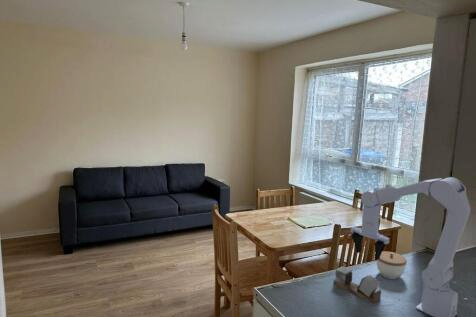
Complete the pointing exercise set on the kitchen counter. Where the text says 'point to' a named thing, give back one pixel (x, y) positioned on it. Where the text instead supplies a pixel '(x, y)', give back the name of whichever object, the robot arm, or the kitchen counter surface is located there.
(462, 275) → the kitchen counter surface
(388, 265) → the lidded jar
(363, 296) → the rail
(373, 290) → the block
